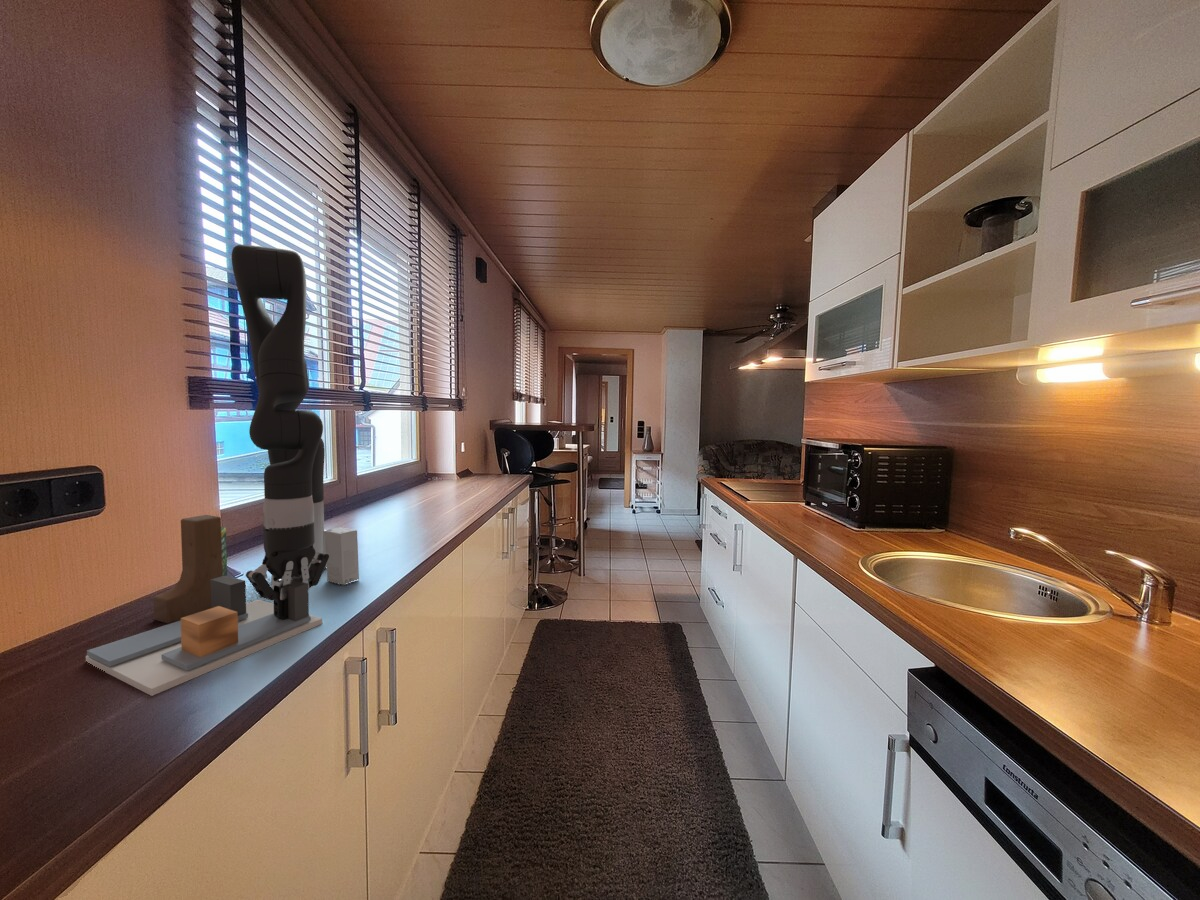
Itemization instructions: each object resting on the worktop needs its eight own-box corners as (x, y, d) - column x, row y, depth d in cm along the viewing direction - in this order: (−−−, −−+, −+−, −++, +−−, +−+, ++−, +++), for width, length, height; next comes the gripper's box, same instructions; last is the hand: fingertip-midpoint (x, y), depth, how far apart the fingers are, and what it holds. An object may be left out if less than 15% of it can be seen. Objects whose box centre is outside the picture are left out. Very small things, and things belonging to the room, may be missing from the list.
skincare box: (360, 580, 104) (359, 529, 103) (341, 586, 100) (340, 533, 99) (343, 575, 107) (342, 526, 106) (324, 581, 103) (323, 529, 102)
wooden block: (167, 624, 80) (164, 526, 79) (152, 620, 82) (149, 523, 81) (224, 605, 89) (221, 516, 88) (209, 602, 90) (207, 514, 89)
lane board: (258, 604, 90) (258, 599, 90) (322, 623, 83) (322, 618, 82) (86, 662, 68) (85, 656, 68) (151, 696, 60) (151, 688, 60)
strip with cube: (285, 613, 84) (285, 577, 83) (310, 620, 81) (310, 584, 80) (161, 659, 67) (159, 615, 67) (187, 671, 64) (185, 625, 64)
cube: (219, 635, 73) (219, 605, 73) (238, 642, 71) (237, 611, 71) (181, 649, 69) (180, 618, 68) (200, 657, 67) (199, 624, 66)
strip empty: (225, 610, 84) (224, 574, 84) (247, 617, 81) (247, 581, 81) (87, 655, 68) (84, 611, 67) (109, 666, 65) (107, 621, 64)
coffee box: (218, 596, 93) (216, 534, 92) (200, 599, 92) (198, 536, 91) (228, 583, 100) (227, 526, 99) (212, 585, 99) (210, 527, 98)
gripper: (313, 512, 88) (315, 597, 89) (232, 526, 75) (235, 626, 76) (339, 516, 85) (340, 605, 86) (259, 532, 72) (262, 636, 73)
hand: (291, 614), depth 81 cm, fingers closed on strip with cube, 2 cm apart
